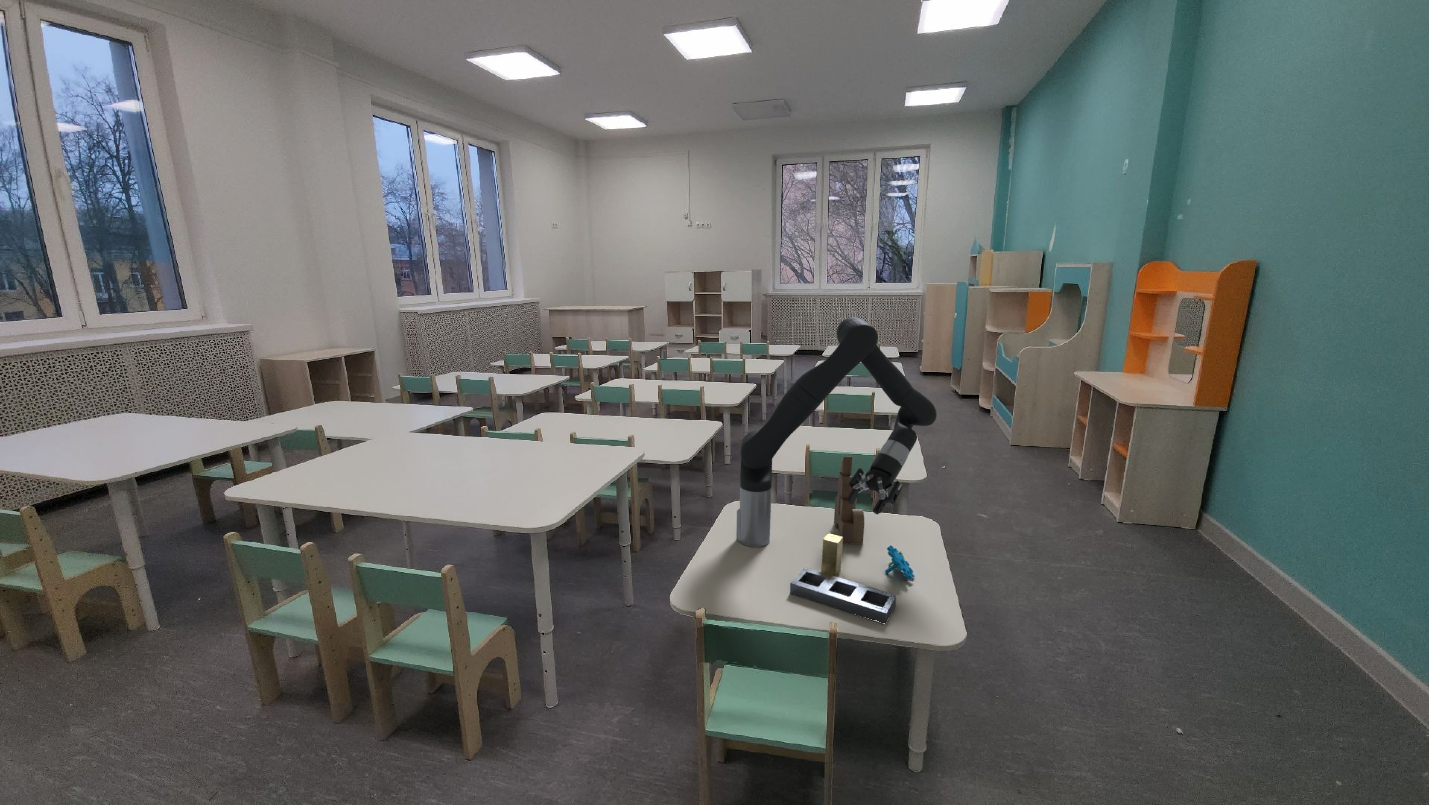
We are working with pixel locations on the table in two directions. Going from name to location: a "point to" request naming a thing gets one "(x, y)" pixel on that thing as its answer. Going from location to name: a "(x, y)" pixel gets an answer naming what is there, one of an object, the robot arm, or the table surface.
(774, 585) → the table surface
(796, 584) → the grey flat frame block
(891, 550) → the gear
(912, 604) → the table surface
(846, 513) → the wooden toy
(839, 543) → the brass post
